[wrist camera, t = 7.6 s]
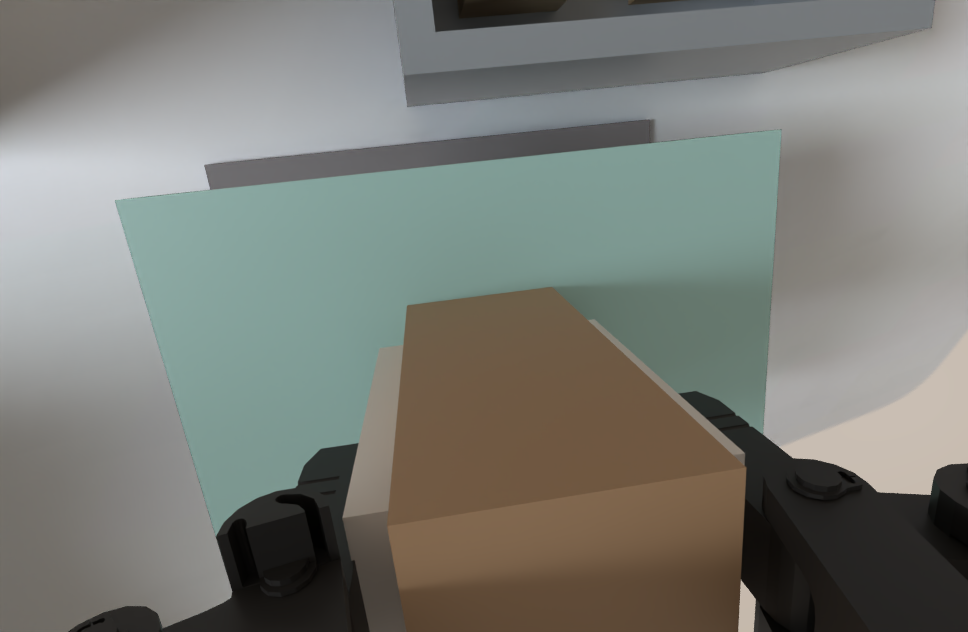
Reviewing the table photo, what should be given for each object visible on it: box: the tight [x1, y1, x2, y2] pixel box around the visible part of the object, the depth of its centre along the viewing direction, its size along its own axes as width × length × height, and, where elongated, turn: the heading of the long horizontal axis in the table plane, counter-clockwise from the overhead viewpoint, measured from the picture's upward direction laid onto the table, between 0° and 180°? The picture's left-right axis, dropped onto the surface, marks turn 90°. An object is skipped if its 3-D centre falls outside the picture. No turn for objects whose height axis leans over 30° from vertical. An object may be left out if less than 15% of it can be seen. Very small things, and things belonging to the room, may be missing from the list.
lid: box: [115, 129, 781, 632], centre depth 12 cm, size 17×11×11 cm, turn 96°
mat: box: [204, 120, 650, 190], centre depth 24 cm, size 19×13×1 cm
